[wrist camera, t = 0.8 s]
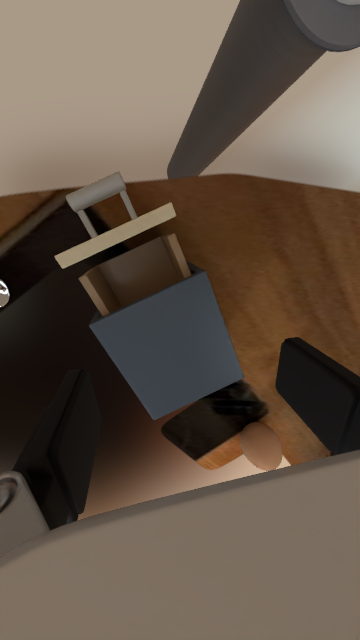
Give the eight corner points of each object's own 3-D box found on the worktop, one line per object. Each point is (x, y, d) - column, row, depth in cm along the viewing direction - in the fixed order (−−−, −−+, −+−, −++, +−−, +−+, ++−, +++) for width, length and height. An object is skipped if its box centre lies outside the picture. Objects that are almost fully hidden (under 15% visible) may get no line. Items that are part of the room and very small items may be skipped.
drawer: (55, 214, 24) (20, 205, 17) (146, 172, 24) (149, 145, 17) (130, 338, 31) (128, 368, 24) (200, 305, 31) (218, 326, 24)
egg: (249, 443, 47) (271, 485, 39) (226, 432, 44) (245, 475, 36) (272, 421, 45) (300, 460, 38) (251, 408, 43) (276, 447, 35)
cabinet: (103, 298, 29) (88, 325, 21) (185, 259, 29) (205, 270, 21) (149, 374, 35) (153, 420, 27) (218, 342, 35) (244, 377, 27)
